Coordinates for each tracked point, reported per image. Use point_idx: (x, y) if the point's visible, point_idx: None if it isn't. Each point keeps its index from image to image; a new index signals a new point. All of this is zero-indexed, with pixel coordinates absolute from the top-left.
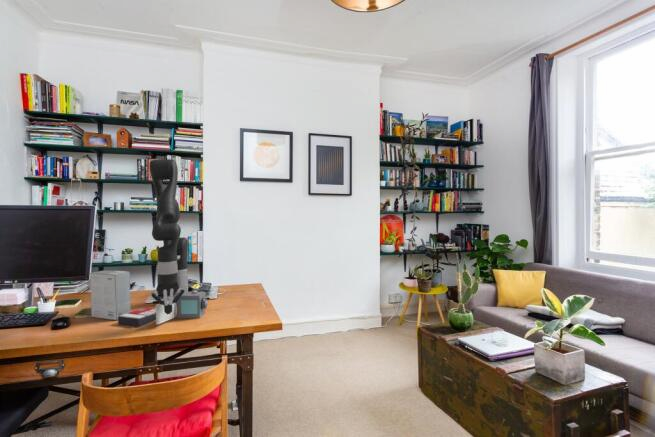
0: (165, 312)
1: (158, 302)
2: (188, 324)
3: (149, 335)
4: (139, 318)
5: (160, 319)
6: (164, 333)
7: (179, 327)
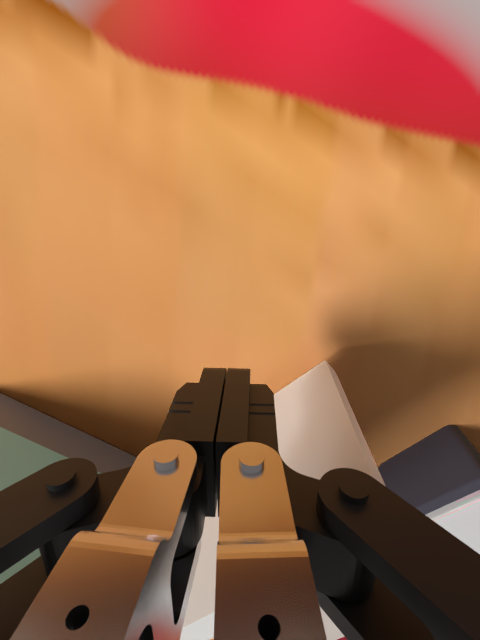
0: (263, 388)
1: (426, 518)
2: (74, 276)
3: (431, 152)
4: (476, 491)
5: (302, 397)
6: (297, 130)
7: (152, 236)
